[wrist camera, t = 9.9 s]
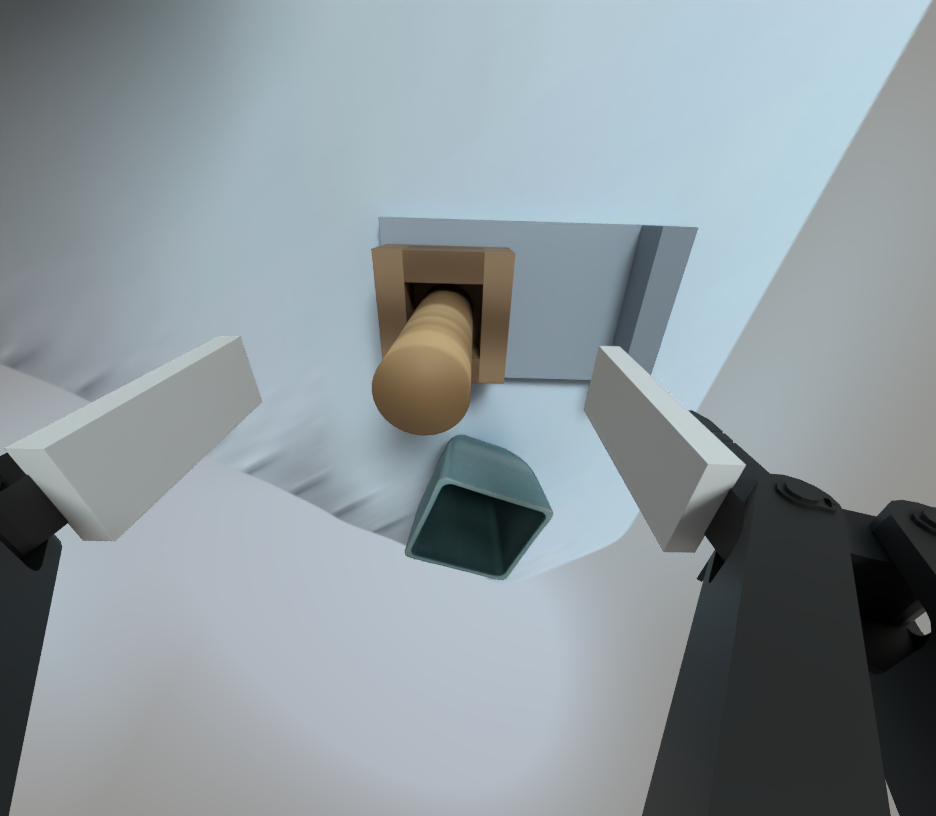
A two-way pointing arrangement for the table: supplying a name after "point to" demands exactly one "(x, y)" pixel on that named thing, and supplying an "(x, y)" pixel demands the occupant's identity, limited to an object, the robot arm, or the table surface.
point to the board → (572, 286)
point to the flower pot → (478, 510)
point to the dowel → (429, 365)
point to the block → (471, 267)
